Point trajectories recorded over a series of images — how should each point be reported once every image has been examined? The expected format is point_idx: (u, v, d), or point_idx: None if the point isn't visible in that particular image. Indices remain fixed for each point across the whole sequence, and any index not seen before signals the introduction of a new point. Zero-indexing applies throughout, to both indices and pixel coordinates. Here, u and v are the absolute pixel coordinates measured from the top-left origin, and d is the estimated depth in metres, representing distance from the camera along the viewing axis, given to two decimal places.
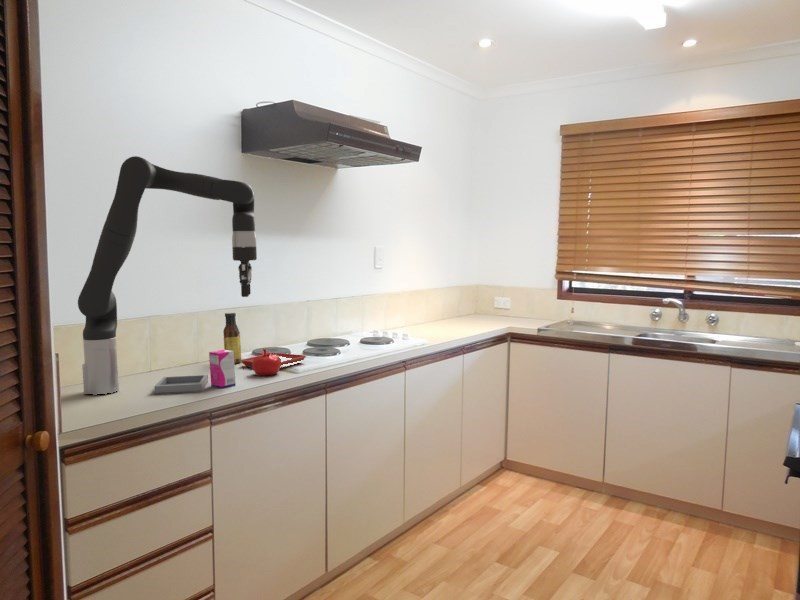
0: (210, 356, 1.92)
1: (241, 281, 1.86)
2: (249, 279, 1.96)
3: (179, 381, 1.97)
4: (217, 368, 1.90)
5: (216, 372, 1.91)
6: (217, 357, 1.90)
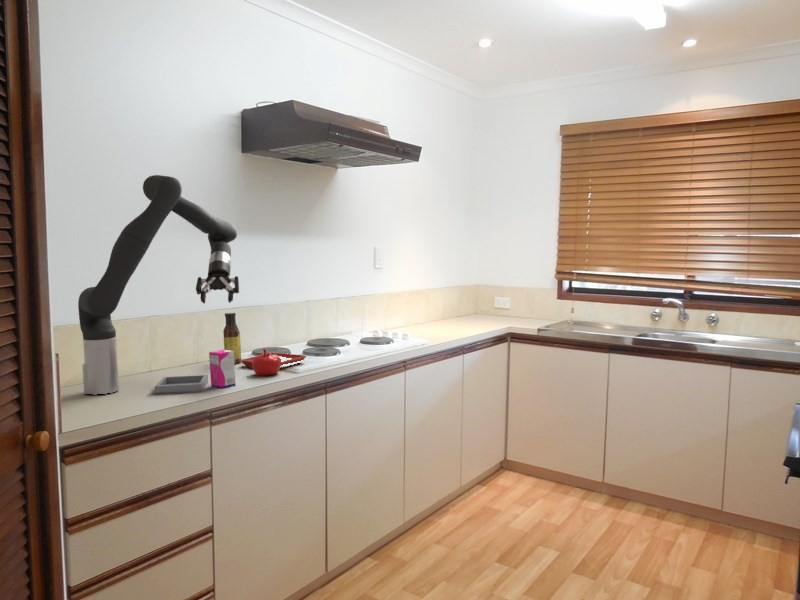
0: (210, 356, 1.92)
1: (237, 288, 2.07)
2: (207, 292, 2.06)
3: (179, 381, 1.97)
4: (217, 368, 1.90)
5: (216, 372, 1.91)
6: (217, 357, 1.90)
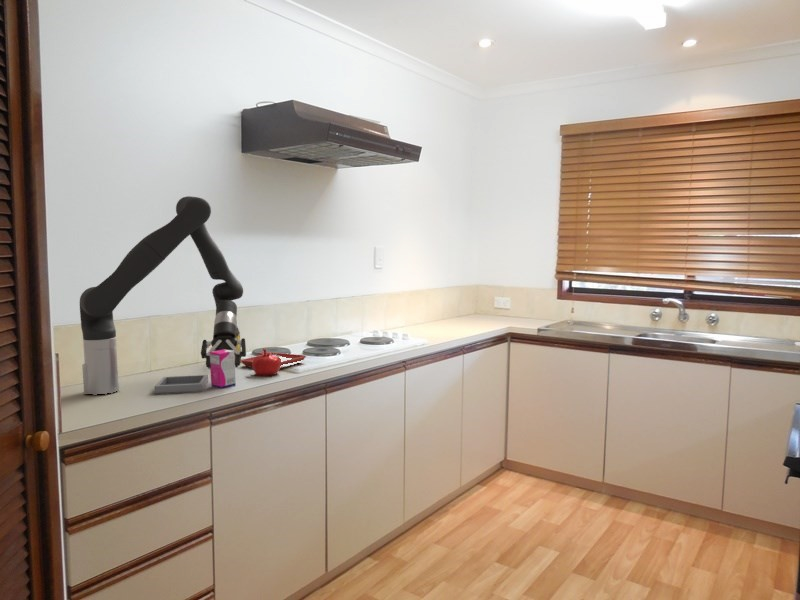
0: (211, 356, 1.92)
1: (244, 351, 1.97)
2: None
3: (179, 381, 1.97)
4: (217, 368, 1.90)
5: (216, 372, 1.91)
6: (217, 357, 1.89)
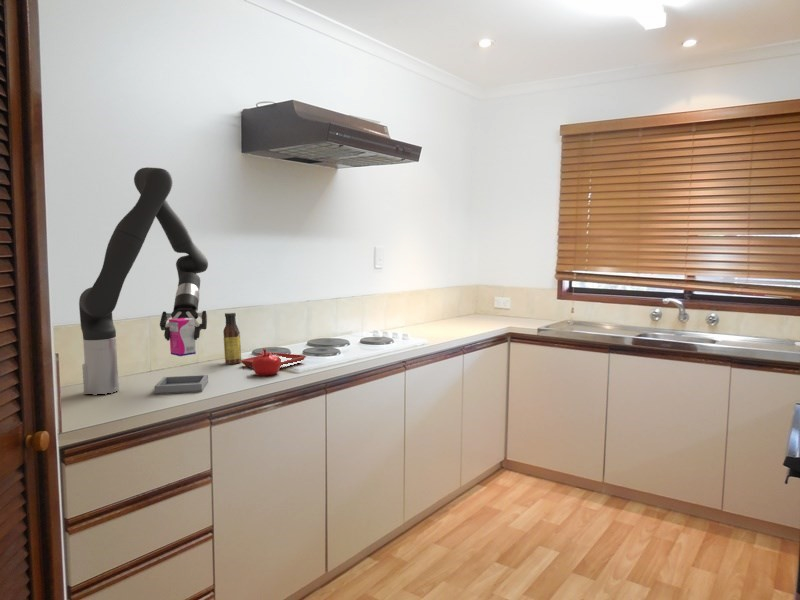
0: (170, 324, 1.89)
1: (204, 324, 1.92)
2: None
3: (179, 381, 1.97)
4: (176, 335, 1.87)
5: (175, 340, 1.87)
6: (176, 324, 1.86)
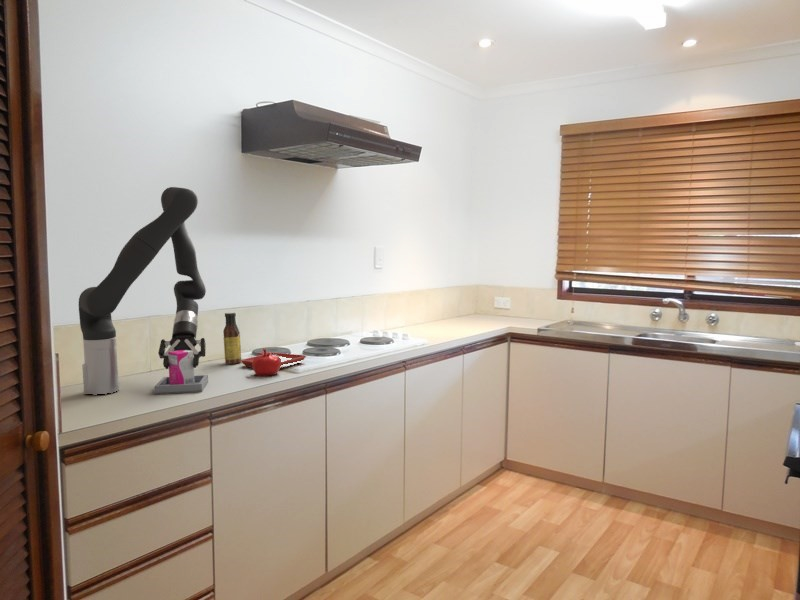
0: (169, 356, 1.90)
1: (203, 351, 1.93)
2: None
3: None
4: (175, 368, 1.88)
5: (174, 372, 1.89)
6: (175, 357, 1.87)
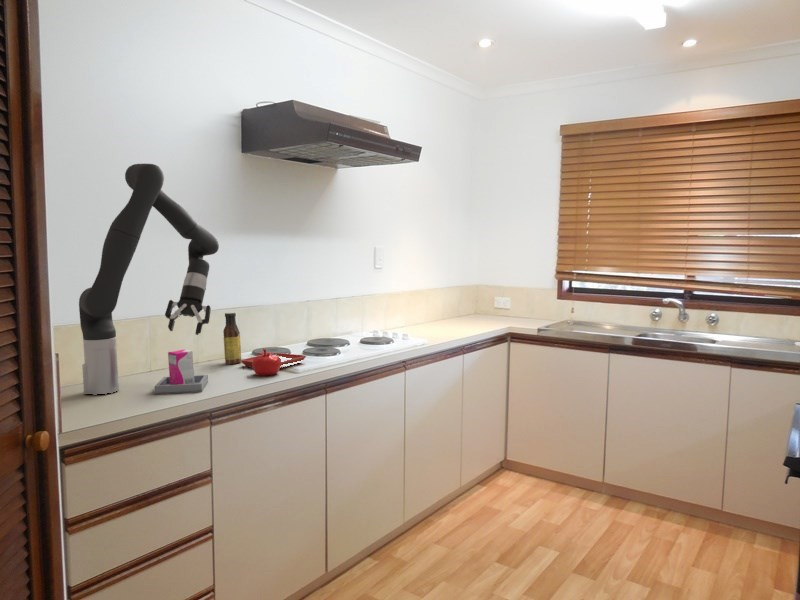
0: (169, 356, 1.90)
1: (207, 320, 2.03)
2: (177, 317, 2.03)
3: None
4: (174, 368, 1.88)
5: (174, 372, 1.89)
6: (174, 357, 1.88)
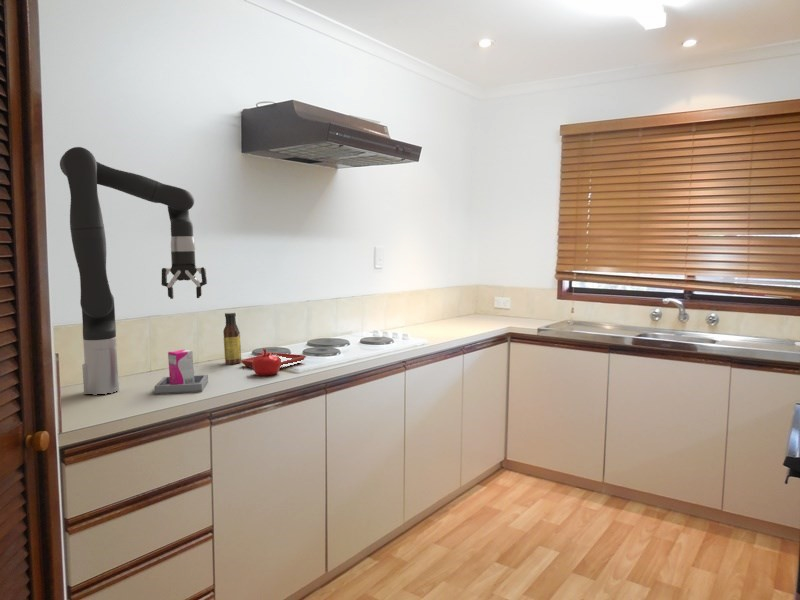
0: (169, 356, 1.90)
1: None
2: None
3: None
4: (174, 368, 1.88)
5: (174, 372, 1.89)
6: (174, 357, 1.88)
